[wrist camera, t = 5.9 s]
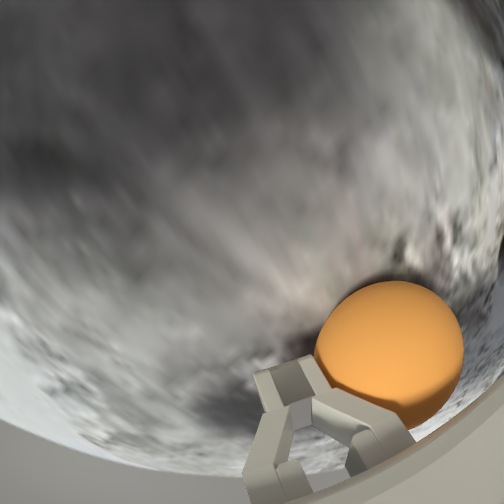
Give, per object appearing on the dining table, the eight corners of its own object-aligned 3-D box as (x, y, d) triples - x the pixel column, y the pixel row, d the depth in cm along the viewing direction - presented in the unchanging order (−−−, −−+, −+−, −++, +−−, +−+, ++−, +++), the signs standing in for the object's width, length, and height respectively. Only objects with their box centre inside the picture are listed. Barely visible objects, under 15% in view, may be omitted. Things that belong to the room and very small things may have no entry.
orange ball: (368, 234, 11) (500, 279, 7) (366, 328, 14) (459, 374, 10) (266, 322, 9) (439, 424, 5) (290, 407, 11) (394, 477, 7)
